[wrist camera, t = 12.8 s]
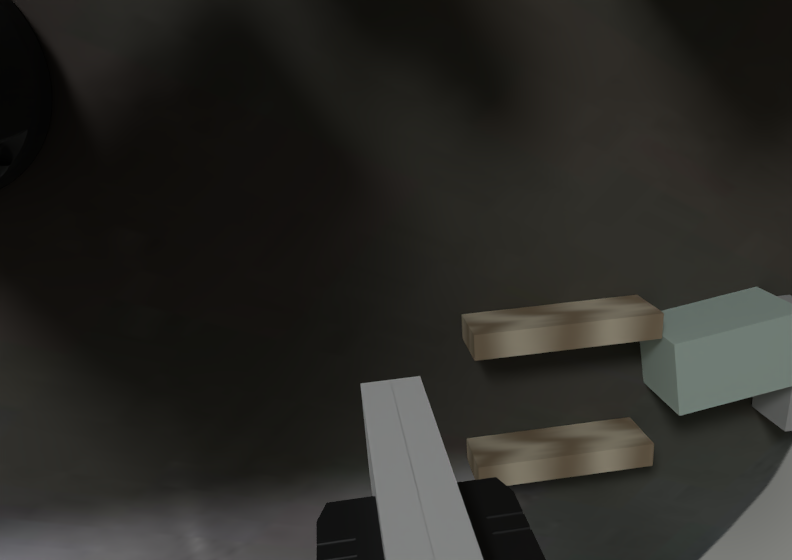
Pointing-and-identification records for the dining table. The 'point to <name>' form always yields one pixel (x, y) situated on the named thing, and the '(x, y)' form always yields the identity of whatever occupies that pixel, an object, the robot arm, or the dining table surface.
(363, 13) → the dining table surface
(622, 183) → the dining table surface
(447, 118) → the dining table surface
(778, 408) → the grey rectangular bar
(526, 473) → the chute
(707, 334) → the block
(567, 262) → the dining table surface
